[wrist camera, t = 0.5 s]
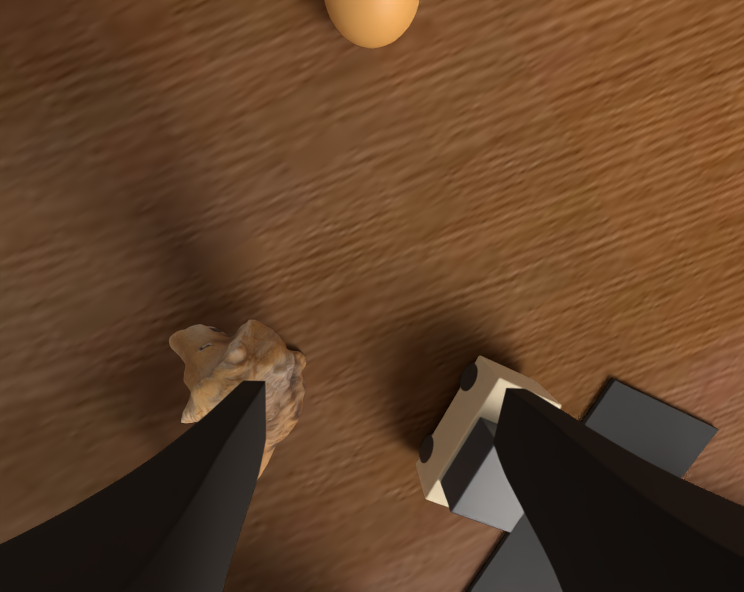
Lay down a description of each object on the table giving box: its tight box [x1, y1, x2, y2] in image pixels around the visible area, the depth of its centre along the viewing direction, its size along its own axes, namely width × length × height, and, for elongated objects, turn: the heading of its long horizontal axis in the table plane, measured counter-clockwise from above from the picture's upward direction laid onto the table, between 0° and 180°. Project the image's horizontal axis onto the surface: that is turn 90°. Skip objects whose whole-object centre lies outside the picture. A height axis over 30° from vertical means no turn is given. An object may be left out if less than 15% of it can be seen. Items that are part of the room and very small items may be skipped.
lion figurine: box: [169, 320, 306, 480], centre depth 17 cm, size 15×5×9 cm, turn 164°
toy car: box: [416, 356, 561, 533], centre depth 20 cm, size 8×4×5 cm, turn 154°
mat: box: [467, 379, 718, 592], centre depth 26 cm, size 20×9×1 cm, turn 154°
